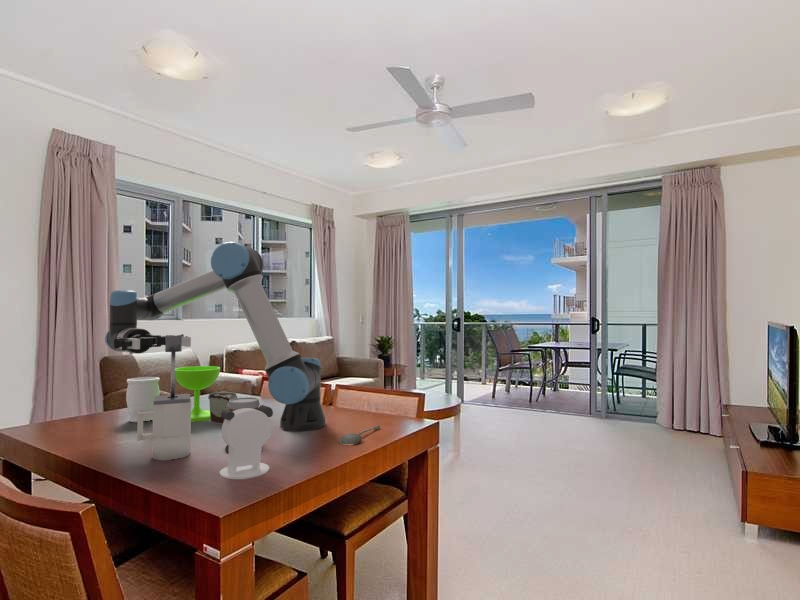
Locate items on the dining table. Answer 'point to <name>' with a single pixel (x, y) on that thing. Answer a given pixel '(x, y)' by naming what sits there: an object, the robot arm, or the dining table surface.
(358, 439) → the soupspoon
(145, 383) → the jar
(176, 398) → the press pot
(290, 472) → the dining table surface
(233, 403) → the disposable coffee cup
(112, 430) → the dining table surface
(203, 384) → the wineglass
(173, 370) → the plunger
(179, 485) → the dining table surface
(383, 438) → the dining table surface
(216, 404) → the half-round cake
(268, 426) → the panda figurine
